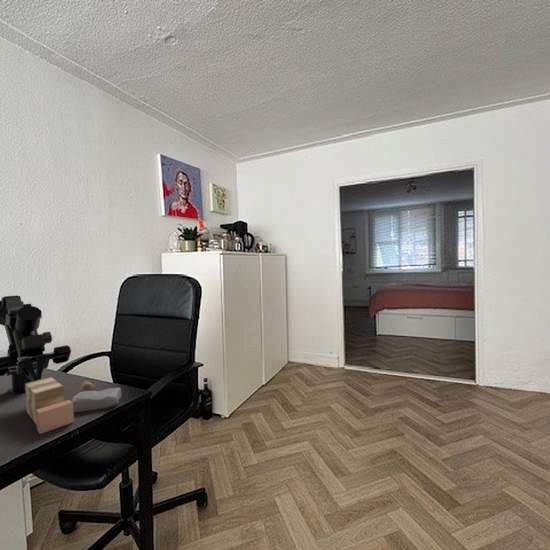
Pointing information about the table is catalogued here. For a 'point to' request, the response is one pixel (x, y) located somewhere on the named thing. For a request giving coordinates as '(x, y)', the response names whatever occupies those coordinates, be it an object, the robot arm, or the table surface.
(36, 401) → the notched wooden block
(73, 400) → the stone block
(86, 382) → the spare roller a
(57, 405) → the block
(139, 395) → the table surface
